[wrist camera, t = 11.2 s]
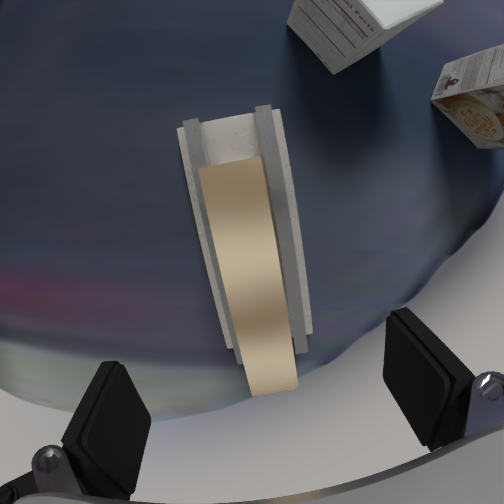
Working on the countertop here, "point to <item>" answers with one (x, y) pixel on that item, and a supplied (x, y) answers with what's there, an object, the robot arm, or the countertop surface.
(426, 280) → the countertop surface
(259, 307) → the door panel
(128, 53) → the countertop surface
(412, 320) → the robot arm
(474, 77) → the coffee box
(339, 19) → the supplement box
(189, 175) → the door track
